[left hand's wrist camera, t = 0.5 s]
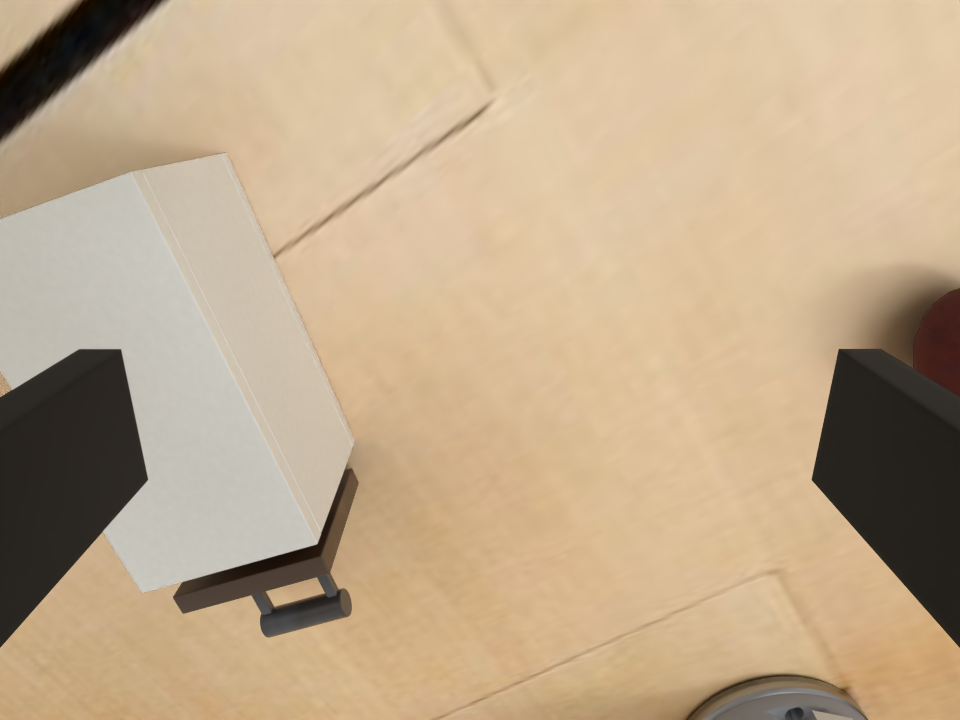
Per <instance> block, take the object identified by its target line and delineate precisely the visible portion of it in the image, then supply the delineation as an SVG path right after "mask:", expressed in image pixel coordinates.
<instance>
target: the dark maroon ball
mask: <svg viewBox="0 0 960 720" xmlns="http://www.w3.org/2000/svg"><path fill="white" fill-rule="evenodd" d="M913 368H914V370H916V371H917V372H919V373H921V374H922V375H924V376H926V377H927V378H929V379H931V380H932V381H934V382H935V383H937V384H939V385H940V386H942V387H944V388H945V389H947V390H949V391H950V392H952V393H953V394H955V395H957V396H958V397H960V288H959V289H956V290H953V291H951V292H949V293H947V294H946V295H944V296H943V297H942V298H940V299H939V300H938V301H936V302H935V303H934V304H933V305H932V306H931V308H930V309H929V310H928V312H927V313H926V314H925V316H924V317H923V319H922V321H921V324H920V327H919V329H918V332H917V335H916V337H915V341H914V346H913Z"/></svg>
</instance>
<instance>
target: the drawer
mask: <svg viewBox="0 0 960 720" xmlns="http://www.w3.org/2000/svg"><path fill="white" fill-rule="evenodd" d="M357 486H358V480H357V478H356V476H355V474H354V472H353V469H352V468H351V469H347V470H344V473H343V475H342V478H341V481H340V483H339V486H338V489H337V492H336V494H335V497H334V500H333V502H332V505H331V508H330V511H329V513H328V516H327V519H326V521H325V524H324V527H323V530H322V532H321V536H320V538H319V541H318V544H316V545H313V546H309V547H306V548H302V549H299V550H295V551H291V552H288V553H284V554H281V555H277V556H274V557H270V558H266V559H263V560H259V561H256V562H252V563H249V564H245V565H241V566H238V567H234V568H231V569H227V570H224V571H220V572H216V573H213V574H209V575H206V576H202V577H199V578H195V579H191V580H188V581H184V582H182V583H181V585H180V587H179V588H178V590H177V592H176V593H175V595H174V596H173V599H174V600H175V602H176V603H177V605H178V607H179V608H180V610H181V612H182V613H188V612H191V611H195V610H199V609H202V608H206V607H210V606H213V605H217V604H221V603H224V602H228V601H231V600H235V599H239V598H242V597H246V596H250V595H252V597H253V599H254V601H255V602H256V604H257V606H258V608H259V609H260V611H261V617H260V625H261V630H262V632H263V634H264V635H265V636H266V637H273V636H277V635H281V634H285V633H288V632H292V631H296V630H300V629H303V628H307V627H311V626H315V625H318V624H322V623H326V622H330V621H334V620H337V619H341V618H345V617H348V616H350V614H351V610H352V604H351V599H350V595H349V593H348V591H347V590H346V589H344V588H343V589H339V590H338V587H337V585H336V583H335V581H334V579H333V577H332V575H331V573H330V571H331V568H332V565H333V562H334V559H335V556H336V552H337V549H338V546H339V543H340V540H341V537H342V534H343V530H344V527H345V524H346V521H347V518H348V515H349V512H350V508H351V505H352V502H353V499H354V496H355V493H356V490H357ZM315 577H317V578H318V580H319V582H320V584H321V586H322V588H323V590H324V592H325V593H324V594H320V595H317V596H313V597H309V598H306V599H302V600H298V601H294V602H291V603H287V604H283V605H280V606H276V607H274V605H273V604H272V602H271V600H270V598H269V596H268V595H267V593H266V591H268V590H272V589H275V588H279V587H283V586H286V585H290V584H294V583H297V582H301V581H304V580H308V579H312V578H315Z"/></svg>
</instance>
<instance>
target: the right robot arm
mask: <svg viewBox="0 0 960 720" xmlns="http://www.w3.org/2000/svg"><path fill="white" fill-rule="evenodd" d="M688 720H868V719H867V717H866V716H865V714H864V712H863V711H862V709H861V708H860V706H859V705H858V704H857V703H856V701H855V700H854V699H853V698H851V697H850V696H849V695H848V694H847V693H845V692H844V691H842V690H840V689H839V688H837V687H835V686H833V685H830V684H828V683H825V682H822V681H819V680H815V679H811V678H804V677H794V676H780V677H769V678H763V679H758V680H753V681H749V682H746V683H743V684H740V685H737V686H735V687H732V688H730V689H728V690H726V691H723V692H722V693H720V694H718V695H716V696H715V697H713V698H712V699H710V700H709V701H707V702H706V703H705V704H703V705H702V706H701V707H700V708H699V709H698V710H697V711H695V712H694V713H693V715H692V716H691V717H690V718H689V719H688Z"/></svg>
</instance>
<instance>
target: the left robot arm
mask: <svg viewBox="0 0 960 720" xmlns="http://www.w3.org/2000/svg"><path fill="white" fill-rule="evenodd" d="M147 481H148V476H147V471H146V466H145V461H144V457H143V452H142V447H141V442H140V437H139V433H138V428H137V423H136V418H135V413H134V409H133V404H132V399H131V394H130V389H129V385H128V380H127V375H126V370H125V365H124V360H123V356H122V351H121V349H79V350H77V351H75V352H74V353H72V354H70V355H69V356H67V357H65V358H64V359H62V360H61V361H59V362H57V363H56V364H54V365H52V366H51V367H49V368H47V369H46V370H44V371H43V372H41V373H39V374H38V375H36V376H34V377H33V378H31V379H29V380H28V381H26V382H25V383H23V384H21V385H20V386H18V387H16V388H15V389H13V390H11V391H10V392H8V393H7V394H5V395H3V396H2V397H0V647H1V646H2V645H3V644H4V643H5V642H6V641H7V639H8V638H9V637H10V636H11V635H12V634H13V633H14V631H15V630H16V629H17V628H18V627H19V626H20V625H21V624H22V622H23V621H24V620H25V619H26V618H27V617H28V616H29V614H30V613H31V612H32V611H33V610H34V609H35V608H36V607H37V605H38V604H39V603H40V602H41V601H42V600H43V599H44V597H45V596H46V595H47V594H48V593H49V592H50V591H51V590H52V588H53V587H54V586H55V585H56V584H57V583H58V582H59V580H60V579H61V578H62V577H63V576H64V575H65V574H66V573H67V571H68V570H69V569H70V568H71V567H72V566H73V565H74V564H75V562H76V561H77V560H78V559H79V558H80V557H81V556H82V554H83V553H84V552H85V551H86V550H87V549H88V548H89V547H90V545H91V544H92V543H93V542H94V541H95V540H96V539H97V537H98V536H99V535H100V534H101V533H102V532H103V531H104V530H105V528H106V527H107V526H108V525H109V524H110V523H111V522H112V520H113V519H114V518H115V517H116V516H117V515H118V514H119V513H120V511H121V510H122V509H123V508H124V507H125V506H126V505H127V503H128V502H129V501H130V500H131V499H132V498H133V497H134V496H135V494H136V493H137V492H138V491H139V490H140V489H141V488H142V486H143V485H144V484H145V483H146V482H147ZM812 481H813V482H814V483H815V484H816V485H817V486H818V488H819V489H820V490H821V491H822V492H823V493H824V494H825V496H826V497H827V498H828V499H829V500H830V501H831V502H832V503H833V505H834V506H835V507H836V508H837V509H838V510H839V511H840V513H841V514H842V515H843V516H844V517H845V518H846V519H847V520H848V522H849V523H850V524H851V525H852V526H853V527H854V528H855V530H856V531H857V532H858V533H859V534H860V535H861V536H862V537H863V539H864V540H865V541H866V542H867V543H868V544H869V545H870V547H871V548H872V549H873V550H874V551H875V552H876V553H877V554H878V556H879V557H880V558H881V559H882V560H883V561H884V562H885V564H886V565H887V566H888V567H889V568H890V569H891V570H892V571H893V573H894V574H895V575H896V576H897V577H898V578H899V579H900V580H901V582H902V583H903V584H904V585H905V586H906V587H907V588H908V590H909V591H910V592H911V593H912V594H913V595H914V596H915V597H916V599H917V600H918V601H919V602H920V603H921V604H922V605H923V607H924V608H925V609H926V610H927V611H928V612H929V613H930V614H931V616H932V617H933V618H934V619H935V620H936V621H937V622H938V624H939V625H940V626H941V627H942V628H943V629H944V630H945V631H946V633H947V634H948V635H949V636H950V637H951V638H952V639H953V641H954V642H955V643H956V644H957V645H958V646H959V647H960V397H958V396H957V395H955V394H953V393H952V392H950V391H949V390H947V389H945V388H944V387H942V386H940V385H939V384H937V383H935V382H934V381H932V380H931V379H929V378H927V377H926V376H924V375H922V374H921V373H919V372H917V371H916V370H914V369H913V368H911V367H909V366H908V365H906V364H904V363H903V362H901V361H899V360H898V359H896V358H895V357H893V356H891V355H890V354H888V353H886V352H885V351H883V350H881V349H839V351H838V356H837V360H836V365H835V370H834V375H833V380H832V385H831V389H830V394H829V399H828V404H827V409H826V413H825V418H824V423H823V428H822V433H821V437H820V442H819V447H818V452H817V457H816V461H815V466H814V471H813V476H812Z"/></svg>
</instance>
